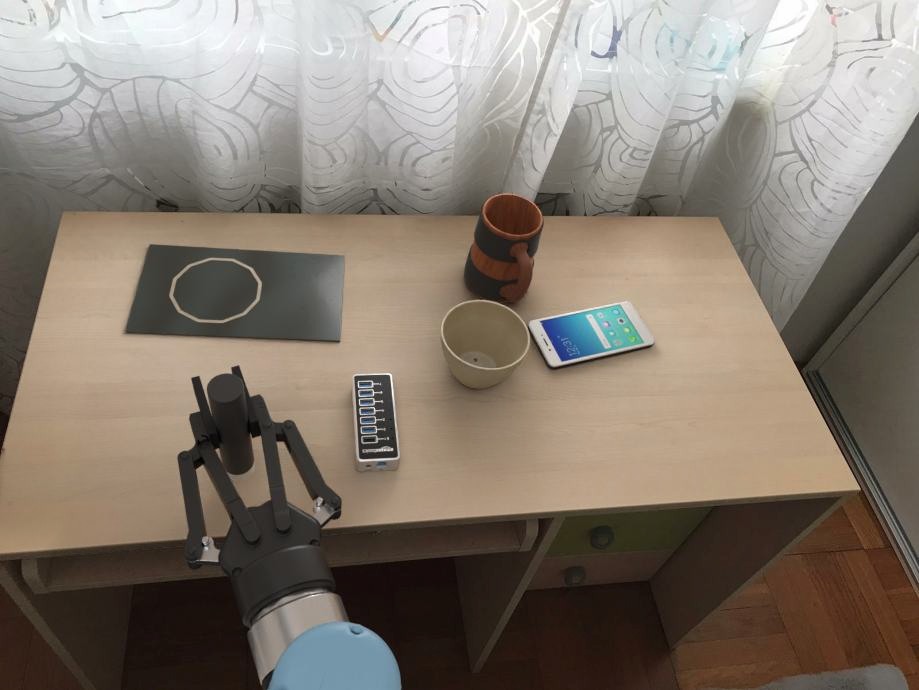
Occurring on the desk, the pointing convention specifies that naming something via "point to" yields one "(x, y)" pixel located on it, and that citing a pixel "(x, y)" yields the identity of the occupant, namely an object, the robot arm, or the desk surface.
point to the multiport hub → (375, 423)
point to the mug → (504, 248)
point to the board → (238, 294)
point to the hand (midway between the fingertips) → (216, 380)
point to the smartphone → (590, 334)
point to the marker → (232, 425)
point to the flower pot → (483, 342)
